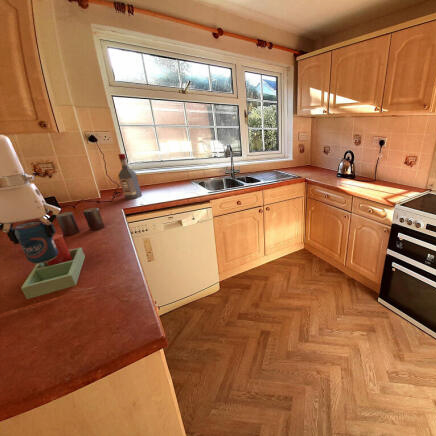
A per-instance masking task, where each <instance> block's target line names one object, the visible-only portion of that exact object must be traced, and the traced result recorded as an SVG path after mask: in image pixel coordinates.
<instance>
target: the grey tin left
mask: <svg viewBox="0 0 436 436" xmlns="http://www.w3.org/2000/svg"><path fill="white" fill-rule="evenodd" d="M55 219H56V220H57V222H58V225H59V226H60V229H61V232H62V235H63V237H71V236H75V235H78V234H79V233H80V232H81V231H80V228H79V225H78V223H77V221H76V218H75V216H74V213H73V212H72V211H65V212H61V213H59V214H58V215H57V217H56V218H55Z"/></svg>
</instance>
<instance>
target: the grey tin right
mask: <svg viewBox="0 0 436 436" xmlns="http://www.w3.org/2000/svg"><path fill="white" fill-rule="evenodd" d="M82 212H83V215H84V218H85V221H86V223H87V226H88V229H89V231H90V232H94V231H100V230H102V229H104V228H105V227H106V226H105V223H104V221H103V218H102V216H101V215H102V214H101V211H100V209H99V207H90V208H86V209H84V210H82Z"/></svg>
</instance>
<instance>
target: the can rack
mask: <svg viewBox="0 0 436 436" xmlns="http://www.w3.org/2000/svg"><path fill="white" fill-rule="evenodd" d="M68 250H69V252H70V254H71V257H72V259H73V260H72V261H67V262H63V263H59V264H55V265H51V266H48V265H47V263H46V262H44V263H40V264H35V265H34V267H33V268H32V270H31V272H30V273H29V275H28V277H27V278H26V280H25V281H24V283H22V286H21V287H20V289H21V292H23V294H24V296H25V298H26V300H29V299H33V298H37V297H40V296H44V295H48V294H50V293H53V292H58V291H61V290H65V289H68V288H72V287H76V286H77V283H78V280H79V277H80V274H81V270H82V267H83V264H84V261H85V258H86V255H85V253H84V249H83V247H76V248H72V249H68Z"/></svg>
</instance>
